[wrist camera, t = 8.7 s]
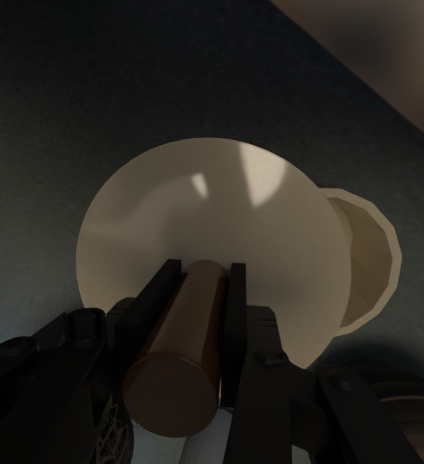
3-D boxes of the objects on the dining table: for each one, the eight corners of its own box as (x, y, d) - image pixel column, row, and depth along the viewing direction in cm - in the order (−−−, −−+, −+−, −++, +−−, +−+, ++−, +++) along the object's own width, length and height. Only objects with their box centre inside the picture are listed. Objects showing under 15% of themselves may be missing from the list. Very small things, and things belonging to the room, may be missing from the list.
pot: (474, 366, 35) (728, 629, 16) (391, 450, 41) (503, 712, 22) (341, 308, 35) (434, 495, 16) (280, 399, 41) (296, 612, 23)
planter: (136, 271, 38) (-93, 493, 12) (193, 386, 41) (109, 752, 15) (24, 313, 41) (-332, 553, 16) (85, 416, 45) (-127, 750, 19)
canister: (238, 181, 33) (237, 186, 24) (365, 183, 32) (415, 189, 22) (235, 291, 37) (232, 333, 27) (349, 298, 35) (386, 345, 26)
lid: (75, 138, 16) (-149, 98, 7) (362, 141, 14) (572, 95, 5) (96, 371, 19) (-31, 548, 10) (326, 395, 18) (412, 629, 9)
